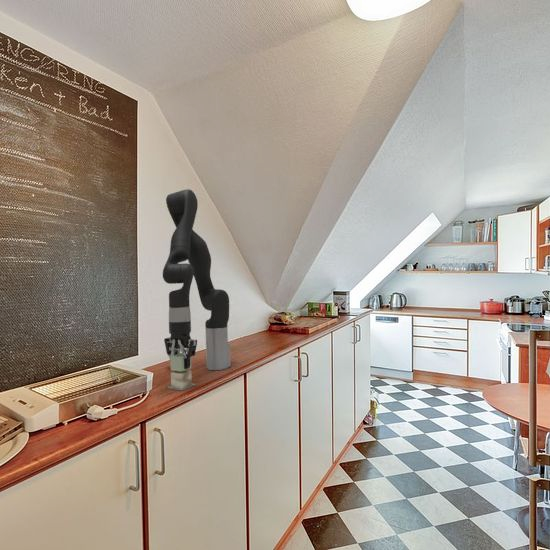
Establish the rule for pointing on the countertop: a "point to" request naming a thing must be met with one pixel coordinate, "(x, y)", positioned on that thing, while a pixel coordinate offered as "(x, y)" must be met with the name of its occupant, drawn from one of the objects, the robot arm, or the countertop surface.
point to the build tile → (182, 388)
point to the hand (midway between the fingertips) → (181, 367)
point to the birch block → (181, 379)
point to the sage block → (178, 362)
